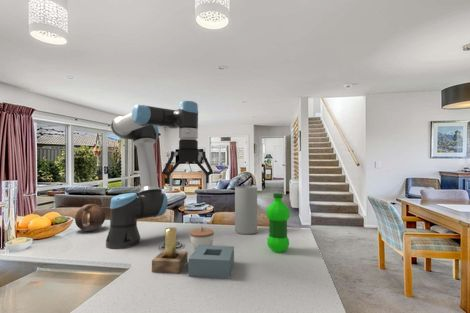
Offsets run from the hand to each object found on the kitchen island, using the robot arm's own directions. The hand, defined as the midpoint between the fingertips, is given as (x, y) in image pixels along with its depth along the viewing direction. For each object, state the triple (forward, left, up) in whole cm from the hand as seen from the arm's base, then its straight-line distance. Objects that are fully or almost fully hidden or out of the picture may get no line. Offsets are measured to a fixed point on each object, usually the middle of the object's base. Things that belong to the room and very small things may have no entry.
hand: (188, 191), depth 101 cm
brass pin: (-4, -8, -27) cm, 28 cm away
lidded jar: (+3, +12, -27) cm, 30 cm away
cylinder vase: (+21, +42, -27) cm, 54 cm away
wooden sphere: (-67, +34, -27) cm, 80 cm away
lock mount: (-4, -8, -27) cm, 28 cm away
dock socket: (+12, -8, -27) cm, 31 cm away
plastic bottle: (+37, +14, -27) cm, 48 cm away
